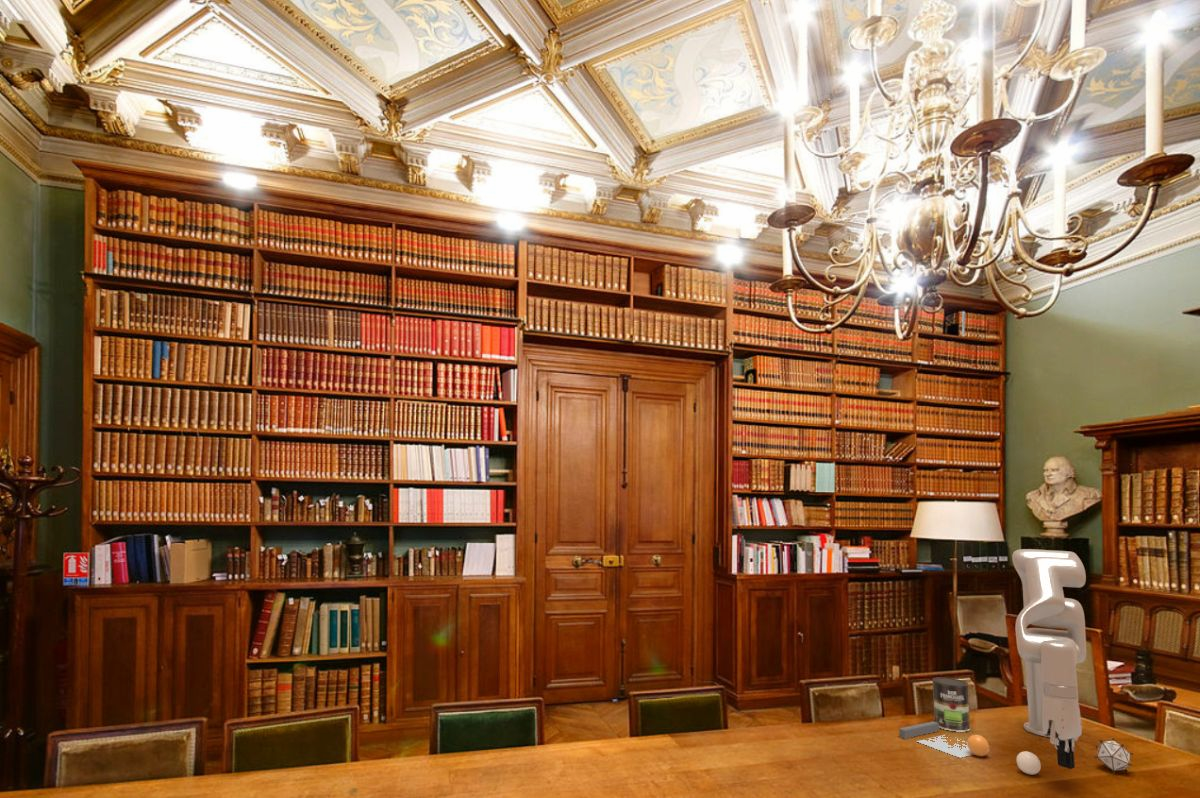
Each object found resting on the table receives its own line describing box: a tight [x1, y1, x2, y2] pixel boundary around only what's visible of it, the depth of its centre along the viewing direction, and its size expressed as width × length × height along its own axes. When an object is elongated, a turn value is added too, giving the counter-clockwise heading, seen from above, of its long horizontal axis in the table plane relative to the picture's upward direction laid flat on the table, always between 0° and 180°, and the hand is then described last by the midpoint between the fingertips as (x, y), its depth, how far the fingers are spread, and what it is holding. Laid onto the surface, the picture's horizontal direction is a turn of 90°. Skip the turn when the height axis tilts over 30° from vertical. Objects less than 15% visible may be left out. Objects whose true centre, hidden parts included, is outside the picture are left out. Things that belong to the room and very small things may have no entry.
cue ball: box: [1016, 750, 1042, 776], centre depth 179 cm, size 6×6×6 cm
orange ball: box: [966, 734, 990, 757], centre depth 191 cm, size 6×6×6 cm
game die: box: [1093, 737, 1134, 775], centre depth 182 cm, size 9×8×10 cm
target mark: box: [915, 734, 975, 759], centre depth 198 cm, size 14×14×1 cm
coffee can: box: [931, 676, 971, 733], centre depth 216 cm, size 10×10×14 cm
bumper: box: [898, 720, 940, 740], centre depth 208 cm, size 16×2×2 cm, turn 118°
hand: (1066, 766), depth 171 cm, fingers closed
